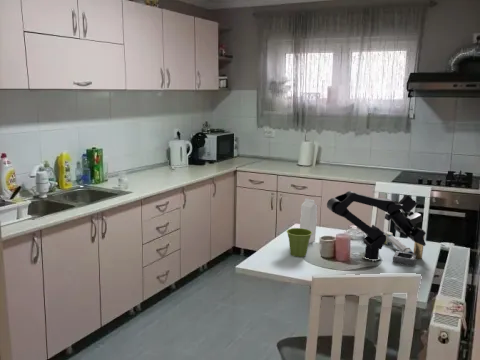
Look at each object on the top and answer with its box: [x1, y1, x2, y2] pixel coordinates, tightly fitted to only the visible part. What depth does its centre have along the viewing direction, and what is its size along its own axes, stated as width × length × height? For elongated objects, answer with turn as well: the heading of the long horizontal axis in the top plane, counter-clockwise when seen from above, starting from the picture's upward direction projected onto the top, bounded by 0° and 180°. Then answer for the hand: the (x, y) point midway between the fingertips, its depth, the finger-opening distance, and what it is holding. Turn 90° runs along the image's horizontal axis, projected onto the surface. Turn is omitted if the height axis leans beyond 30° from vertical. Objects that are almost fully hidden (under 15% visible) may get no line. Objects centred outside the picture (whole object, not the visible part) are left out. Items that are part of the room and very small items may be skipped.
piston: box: [412, 234, 426, 260], centre depth 221 cm, size 4×4×12 cm
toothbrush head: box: [383, 231, 414, 254], centre depth 233 cm, size 5×7×25 cm
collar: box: [392, 250, 417, 267], centre depth 216 cm, size 9×9×3 cm
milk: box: [299, 197, 318, 245], centre depth 239 cm, size 6×6×22 cm
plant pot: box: [286, 227, 312, 258], centre depth 219 cm, size 12×12×11 cm
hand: (419, 242), depth 221 cm, fingers open, 9 cm apart
